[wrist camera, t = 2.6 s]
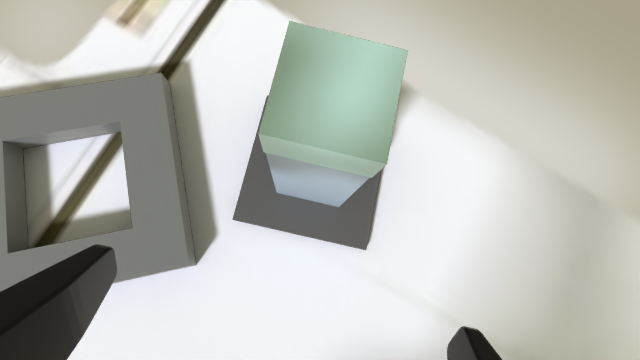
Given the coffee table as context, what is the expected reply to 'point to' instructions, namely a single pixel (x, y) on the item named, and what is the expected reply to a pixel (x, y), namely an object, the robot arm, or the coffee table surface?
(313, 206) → the corner stop plate
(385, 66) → the plug
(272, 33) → the coffee table surface
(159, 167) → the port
